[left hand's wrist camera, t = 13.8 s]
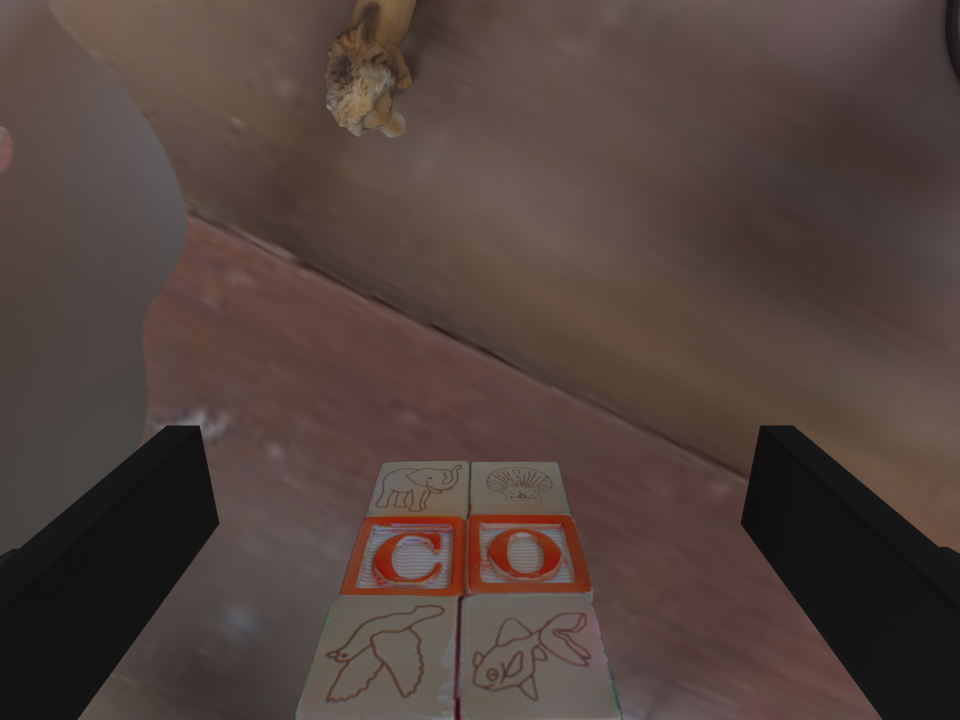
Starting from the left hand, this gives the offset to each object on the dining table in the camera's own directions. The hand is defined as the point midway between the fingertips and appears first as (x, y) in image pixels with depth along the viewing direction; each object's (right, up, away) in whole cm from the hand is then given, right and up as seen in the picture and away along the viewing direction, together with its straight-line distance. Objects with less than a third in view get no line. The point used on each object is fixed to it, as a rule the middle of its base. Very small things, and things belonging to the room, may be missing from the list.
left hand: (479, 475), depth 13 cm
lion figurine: (-5, +24, +22) cm, 33 cm away
